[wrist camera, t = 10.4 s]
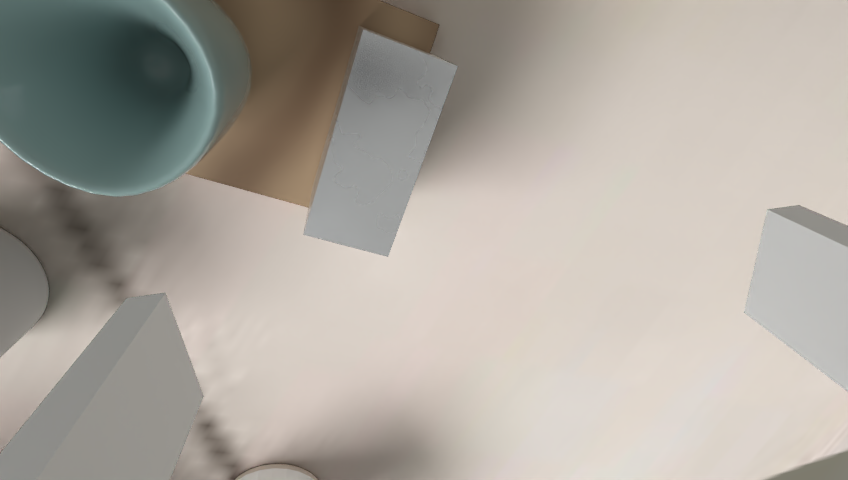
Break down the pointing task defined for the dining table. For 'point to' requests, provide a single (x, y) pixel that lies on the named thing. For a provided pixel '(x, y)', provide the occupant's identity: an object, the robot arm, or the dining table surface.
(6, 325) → the mug
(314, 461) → the dining table surface
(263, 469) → the mug
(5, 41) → the cup
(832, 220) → the robot arm
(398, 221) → the bookend
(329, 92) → the caddy
